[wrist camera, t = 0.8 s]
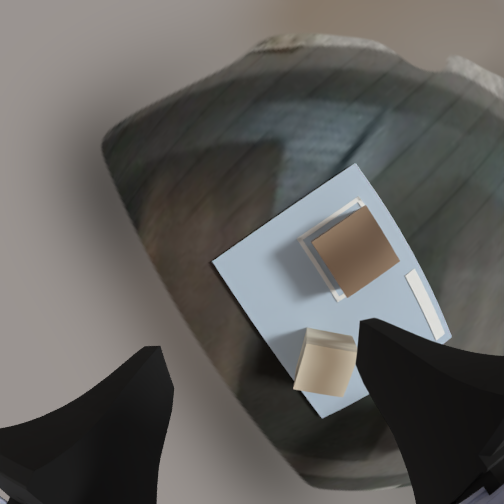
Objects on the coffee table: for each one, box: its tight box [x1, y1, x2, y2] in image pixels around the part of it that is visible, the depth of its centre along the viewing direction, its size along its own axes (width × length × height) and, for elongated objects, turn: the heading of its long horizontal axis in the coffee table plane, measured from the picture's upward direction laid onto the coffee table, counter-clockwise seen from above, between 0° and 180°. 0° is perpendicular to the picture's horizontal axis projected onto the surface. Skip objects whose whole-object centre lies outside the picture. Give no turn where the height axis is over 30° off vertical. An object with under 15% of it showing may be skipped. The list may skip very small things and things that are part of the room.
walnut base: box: [311, 205, 400, 298], centre depth 21 cm, size 5×5×4 cm
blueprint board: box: [212, 163, 452, 418], centre depth 24 cm, size 20×16×1 cm
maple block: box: [293, 328, 357, 397], centre depth 22 cm, size 4×4×4 cm
